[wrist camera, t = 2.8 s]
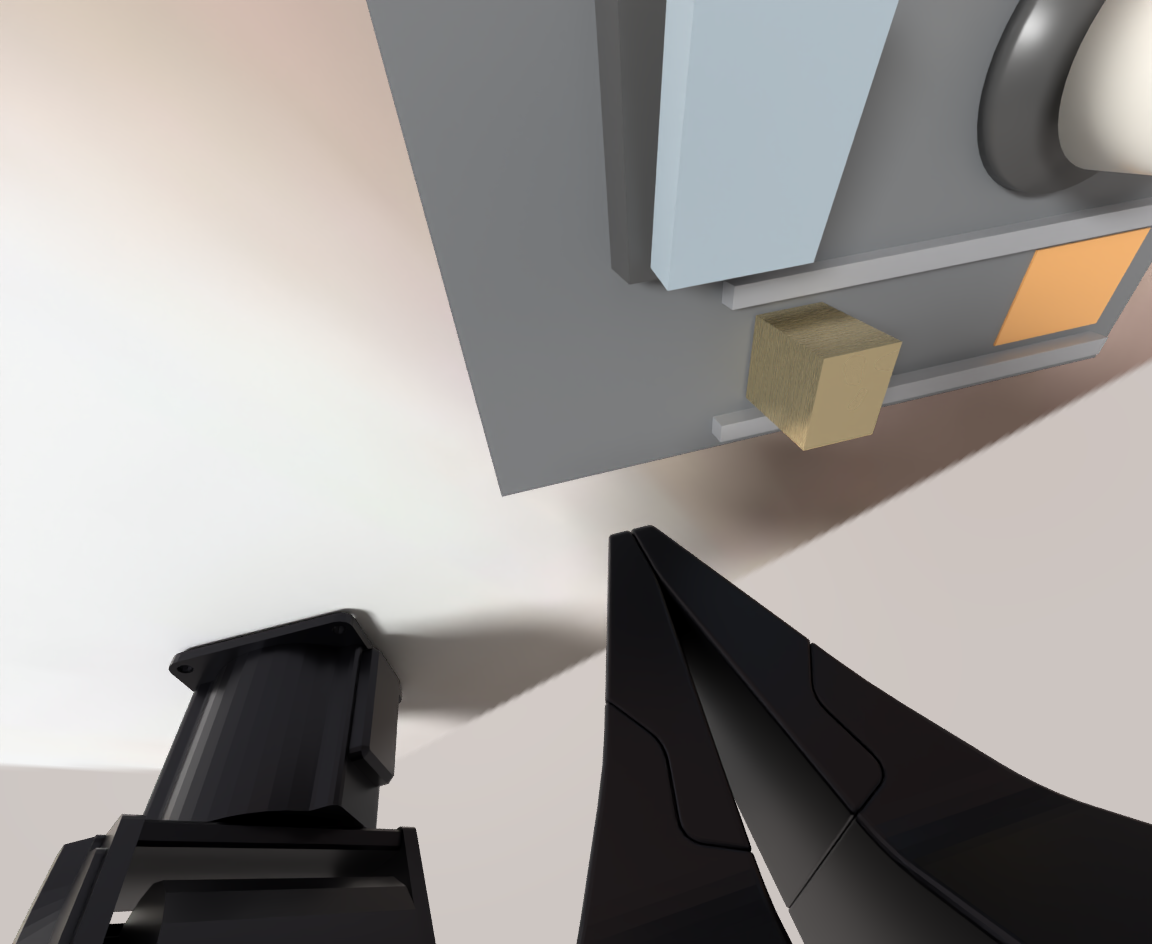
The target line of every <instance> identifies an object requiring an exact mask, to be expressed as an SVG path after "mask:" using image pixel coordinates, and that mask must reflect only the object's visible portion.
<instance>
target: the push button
mask: <svg viewBox="0 0 1152 944" xmlns="http://www.w3.org/2000/svg"><path fill="white" fill-rule="evenodd" d="M1058 134H1059V141H1060V145H1061V148H1062V150H1063V153H1064V155H1065V156H1066V158H1067V159H1068V160H1069V161H1070V162H1071V163H1072V164H1074V165H1075V166H1077V167H1079V168H1082V169H1087V170H1097V171H1108V172H1119V173H1130V174H1141V175H1152V0H1106V1H1105V2H1104V4H1103V5H1102V7H1101V9H1100V10H1099V12H1098V14H1097V15H1096V17H1095V19H1094V20H1093V22H1092V24H1091V25H1090V27H1089V29H1088V31H1087V33H1086V35H1085V37H1084V39H1083V41H1082V43H1081V45H1080V47H1079V49H1078V51H1077V54H1076V56H1075V58H1074V60H1073V63H1072V65H1071V68H1070V71H1069V74H1068V77H1067V79H1066V83H1065V86H1064V90H1063V94H1062V98H1061V103H1060V109H1059V118H1058Z"/></svg>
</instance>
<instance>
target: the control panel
mask: <svg viewBox="0 0 1152 944" xmlns="http://www.w3.org/2000/svg"><path fill="white" fill-rule="evenodd" d="M1105 1H1106V0H899V1H898V4H897V7H896V10H895V13H894V17H893V20H892V23H891V26H890V29H889V32H888V35H887V38H886V41H885V44H884V47H883V50H882V53H881V57H880V60H879V63H878V66H877V69H876V72H875V75H874V78H873V81H872V84H871V87H870V90H869V93H868V96H867V100H866V103H865V106H864V109H863V112H862V115H861V118H860V121H859V124H858V127H857V130H856V133H855V136H854V140H853V143H852V146H851V149H850V152H849V155H848V158H847V161H846V164H845V167H844V170H843V173H842V176H841V179H840V183H839V186H838V189H837V192H836V195H835V198H834V201H833V204H832V207H831V210H830V213H829V216H828V219H827V223H826V226H825V229H824V232H823V235H822V238H821V241H820V244H819V247H818V250H817V253H816V256H815V259H814V263H809V264H804V265H799V266H794V267H788V268H783V269H778V270H773V271H768V272H763V273H757V274H752V275H747V276H742V277H737V278H732V279H726V280H721V281H716V282H711V283H706V284H701V285H695V286H690V287H685V288H680V289H675V290H670V291H667V289H666V288H665V287H664V285H663V284H662V282H661V281H660V280H659V278H658V277H657V276H656V274H655V273H654V272H653V270H652V269H651V252H652V235H653V219H654V202H655V185H656V169H657V152H658V135H659V119H660V102H661V86H662V69H663V52H664V36H665V19H666V2H667V0H366V2H367V5H368V9H369V12H370V16H371V20H372V23H373V27H374V31H375V34H376V38H377V42H378V45H379V49H380V53H381V56H382V60H383V64H384V67H385V71H386V75H387V78H388V82H389V86H390V89H391V93H392V97H393V100H394V104H395V107H396V111H397V115H398V118H399V122H400V126H401V129H402V133H403V137H404V140H405V144H406V148H407V151H408V155H409V159H410V162H411V166H412V170H413V173H414V177H415V181H416V184H417V188H418V192H419V195H420V199H421V202H422V206H423V210H424V213H425V217H426V221H427V224H428V228H429V232H430V235H431V239H432V243H433V246H434V250H435V254H436V257H437V261H438V265H439V268H440V272H441V276H442V279H443V283H444V287H445V290H446V294H447V297H448V301H449V305H450V308H451V312H452V316H453V319H454V323H455V327H456V330H457V334H458V338H459V341H460V345H461V349H462V352H463V356H464V360H465V363H466V367H467V371H468V374H469V378H470V382H471V385H472V389H473V392H474V396H475V400H476V403H477V407H478V411H479V414H480V418H481V422H482V425H483V429H484V433H485V436H486V440H487V444H488V447H489V451H490V455H491V458H492V462H493V466H494V469H495V473H496V477H497V480H498V484H499V487H500V491H501V495H502V496H507V495H511V494H515V493H519V492H524V491H528V490H532V489H536V488H541V487H545V486H549V485H553V484H558V483H562V482H566V481H570V480H575V479H579V478H583V477H587V476H592V475H596V474H600V473H604V472H609V471H613V470H617V469H621V468H626V467H630V466H634V465H638V464H643V463H647V462H651V461H655V460H660V459H664V458H668V457H672V456H677V455H681V454H685V453H689V452H694V451H698V450H702V449H706V448H711V447H715V446H719V445H724V444H728V443H732V442H736V441H741V440H745V439H749V438H753V437H758V436H762V435H766V434H770V433H775V432H779V431H781V430H780V429H779V428H778V427H777V426H776V425H775V424H774V423H773V422H772V421H771V420H769V419H768V418H767V417H766V416H765V415H764V414H763V413H762V412H761V411H760V410H759V409H758V408H756V407H755V406H754V405H753V404H752V403H751V402H750V401H749V400H748V399H747V398H746V392H747V384H748V375H749V367H750V359H751V351H752V343H753V335H754V326H755V318H756V315H760V314H764V313H769V312H774V311H779V310H784V309H789V308H794V307H799V306H804V305H808V304H813V303H818V302H823V303H825V304H827V305H829V306H831V307H833V308H835V309H837V310H839V311H841V312H843V313H845V314H847V315H850V316H852V317H854V318H856V319H858V320H860V321H862V322H864V323H866V324H868V325H870V326H872V327H874V328H876V329H878V330H880V331H882V332H884V333H886V334H888V335H890V336H892V337H894V338H896V339H898V340H900V341H902V345H901V348H900V351H899V354H898V357H897V360H896V363H895V366H894V369H893V372H892V375H891V378H890V381H889V385H888V388H887V391H886V394H885V397H884V400H883V403H882V406H881V407H885V406H889V405H894V404H898V403H902V402H906V401H911V400H915V399H919V398H923V397H928V396H932V395H936V394H940V393H945V392H949V391H953V390H957V389H962V388H966V387H970V386H974V385H979V384H983V383H987V382H991V381H996V380H1000V379H1004V378H1008V377H1013V376H1017V375H1021V374H1025V373H1030V372H1034V371H1038V370H1042V369H1047V368H1051V367H1055V366H1060V365H1064V364H1068V363H1072V362H1077V361H1081V360H1085V359H1089V358H1094V357H1095V356H1096V354H1099V352H1100V350H1101V349H1102V347H1103V345H1104V344H1105V342H1106V340H1107V339H1108V337H1107V336H1108V334H1109V333H1110V331H1111V329H1112V328H1113V326H1114V324H1115V323H1116V321H1117V319H1118V318H1119V316H1120V314H1121V313H1122V311H1123V309H1124V308H1125V306H1126V304H1127V303H1128V301H1129V299H1130V297H1131V296H1132V294H1133V292H1134V291H1135V289H1136V287H1137V286H1138V284H1139V282H1140V281H1141V279H1142V277H1143V276H1144V274H1145V272H1146V271H1147V269H1148V267H1149V266H1150V264H1151V262H1152V175H1141V174H1130V173H1119V172H1108V171H1097V170H1087V169H1082V168H1079V167H1077V166H1075V165H1074V164H1072V163H1071V162H1070V161H1069V160H1068V159H1067V158H1066V156H1065V155H1064V153H1063V150H1062V148H1061V145H1060V141H1059V134H1058V118H1059V109H1060V103H1061V98H1062V94H1063V90H1064V86H1065V83H1066V79H1067V77H1068V74H1069V71H1070V68H1071V65H1072V63H1073V60H1074V58H1075V56H1076V54H1077V51H1078V49H1079V47H1080V45H1081V43H1082V41H1083V39H1084V37H1085V35H1086V33H1087V31H1088V29H1089V27H1090V25H1091V24H1092V22H1093V20H1094V19H1095V17H1096V15H1097V14H1098V12H1099V10H1100V9H1101V7H1102V5H1103V4H1104V2H1105Z"/></svg>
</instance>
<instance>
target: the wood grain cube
mask: <svg viewBox="0 0 1152 944" xmlns="http://www.w3.org/2000/svg"><path fill="white" fill-rule="evenodd" d="M901 345H902V341H900V340H898V339H896V338H894V337H892V336H890V335H888V334H886V333H884V332H882V331H880V330H878V329H876V328H874V327H872V326H870V325H868V324H866V323H864V322H862V321H860V320H858V319H856V318H854V317H852V316H850V315H847V314H845V313H843V312H841V311H839V310H837V309H835V308H833V307H831V306H829V305H827V304H825V303H823V302H818V303H813V304H808V305H804V306H799V307H794V308H789V309H784V310H779V311H774V312H769V313H764V314H760V315H756V318H755V326H754V335H753V343H752V351H751V359H750V367H749V375H748V384H747V392H746V398H747V399H748V400H749V401H750V402H751V403H752V404H753V405H754V406H755V407H756V408H758V409H759V410H760V411H761V412H762V413H763V414H764V415H765V416H766V417H767V418H768V419H769V420H771V421H772V422H773V423H774V424H775V425H776V426H777V427H778V428H779V429H780V430H781V431H782V432H783V433H785V434H786V435H787V436H788V437H789V438H790V439H791V440H792V441H793V442H794V443H795V444H796V445H798V446H799V447H800V448H801V449H802V450H803V451H805V450H810V449H814V448H818V447H822V446H826V445H830V444H834V443H839V442H843V441H847V440H851V439H855V438H859V437H863V436H868V435H872V434H873V431H874V428H875V425H876V421H877V418H878V415H879V412H880V409H881V406H882V403H883V400H884V397H885V394H886V391H887V388H888V385H889V381H890V378H891V375H892V372H893V369H894V366H895V363H896V360H897V357H898V354H899V351H900V348H901Z"/></svg>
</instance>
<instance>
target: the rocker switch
mask: <svg viewBox="0 0 1152 944" xmlns="http://www.w3.org/2000/svg"><path fill="white" fill-rule="evenodd" d="M898 1H899V0H667V2H666V19H665V36H664V52H663V69H662V86H661V102H660V119H659V135H658V152H657V169H656V185H655V202H654V219H653V235H652V252H651V269H652V270H653V272H654V273H655V274H656V276H657V277H658V278H659V280H660V281H661V282H662V284H663V285H664V287H665V288H666V289H667V291H670V290H675V289H680V288H685V287H690V286H695V285H701V284H706V283H711V282H716V281H721V280H726V279H732V278H737V277H742V276H747V275H752V274H757V273H763V272H768V271H773V270H778V269H783V268H788V267H794V266H799V265H804V264H809V263H814V259H815V256H816V253H817V250H818V247H819V244H820V241H821V238H822V235H823V232H824V229H825V226H826V223H827V219H828V216H829V213H830V210H831V207H832V204H833V201H834V198H835V195H836V192H837V189H838V186H839V183H840V179H841V176H842V173H843V170H844V167H845V164H846V161H847V158H848V155H849V152H850V149H851V146H852V143H853V140H854V136H855V133H856V130H857V127H858V124H859V121H860V118H861V115H862V112H863V109H864V106H865V103H866V100H867V96H868V93H869V90H870V87H871V84H872V81H873V78H874V75H875V72H876V69H877V66H878V63H879V60H880V57H881V53H882V50H883V47H884V44H885V41H886V38H887V35H888V32H889V29H890V26H891V23H892V20H893V17H894V13H895V10H896V7H897V4H898Z"/></svg>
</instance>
